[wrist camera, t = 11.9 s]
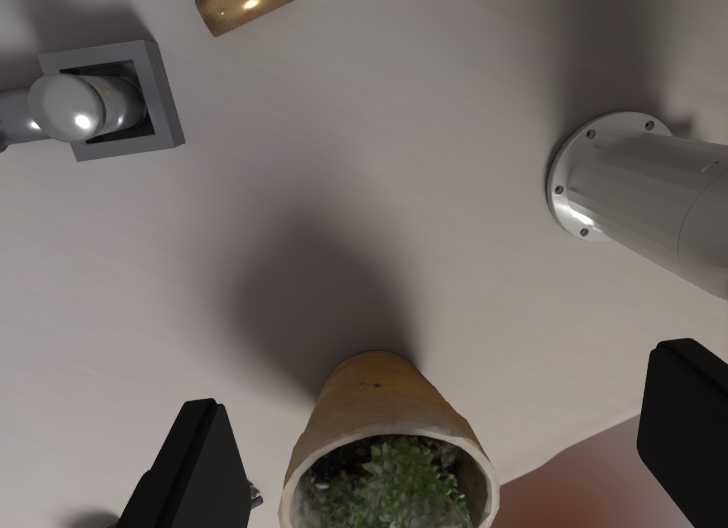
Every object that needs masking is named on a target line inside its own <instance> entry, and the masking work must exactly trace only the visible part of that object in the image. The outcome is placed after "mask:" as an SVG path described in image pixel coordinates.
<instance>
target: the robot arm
mask: <svg viewBox="0 0 728 528" xmlns="http://www.w3.org/2000/svg"><path fill="white" fill-rule="evenodd" d="M587 132H588V134H587ZM586 134H587V135H586ZM556 187H557V189H556V190H555V188H556ZM547 198H548V204H549V207H550V210H551V213H552V215H553V217H554V218H555V220H556V222H557V223H558V224H559V225H560V226H561V227H562V228H563V229H564V230H565V231H567V232H568V233H570V234H571V235H572V236H574V237H576V238H578V239H580V240H584V241H588V242H592V243H606V242H613V241H617V242H618V243H620V244H622V245H624V246H626V247H627V248H629V249H631V250H633V251H634V252H636V253H638V254H640V255H642V256H643V257H645V258H647V259H649V260H651V261H652V262H654V263H656V264H658V265H660V266H661V267H663V268H665V269H667V270H669V271H670V272H672V273H674V274H676V275H677V276H679V277H681V278H683V279H685V280H686V281H688V282H690V283H692V284H694V285H696V286H698V287H699V288H701V289H703V290H705V291H707V292H709V293H710V294H712V295H714V296H717V297H719V298H721V299H723V300H726V301H728V146H727V145H721V144H715V143H709V142H703V141H697V140H691V139H685V138H678V137H674V136H673V134H672V133H671V131H670V130H669V129H668V128H667V126H666V125H665V124H663V123H662V122H661V121H659V120H658V119H657V118H655V117H652V116H650V115H648V114H644V113H638V112H629V111H620V112H613V113H608V114H605V115H603V116H600V117H597V118H595V119H593V120H591V121H590V122H588V123H586V124H584V125H583V126H582V127H581V128H579V129H578V130H577V131H576V132H574V133H573V134H572V135H571V137H570V138H569V139H568V140H567V141H566V142H565V143H564V145H563V146H562V148H561V149H560V151H559V152H558V154H557V155H556V157H555V160H554V162H553V164H552V166H551V169H550V173H549V177H548V183H547ZM637 450H638V453H639V456H640V457H641V459H642V461H643V462H644V464H645V465H646V466H647V468H648V469H649V470H650V471H651V473H652V474H653V475H654V476H655V478H656V479H657V480H658V482H659V483H660V484H661V485H662V487H663V488H664V489H665V491H666V492H667V493H668V494H669V495H670V497H671V498H672V499H673V501H674V502H675V503H676V505H677V506H678V507H679V508H680V510H681V511H682V512H683V513H684V515H685V516H686V517H687V519H688V520H689V521H690V522H691V524H692V525H693V526H694V527H695V528H728V364H727V363H725V362H724V361H723V360H721V359H720V358H719V357H717V356H716V355H715V354H713V353H712V352H710V351H709V350H708V349H706V348H705V347H704V346H702V345H701V344H700V343H698V342H697V341H695V340H693V339H691V338H683V339H675V340H667V341H662V342H659V343H658V345H657V346H656V349H653V350H652V351H651V352H650V355H649V362H648V369H647V376H646V382H645V389H644V396H643V403H642V410H641V416H640V423H639V430H638V438H637ZM251 504H252V497H251V490H250V487H249V484H248V480H247V477H246V474H245V471H244V467H243V464H242V461H241V458H240V454H239V451H238V448H237V444H236V441H235V438H234V435H233V431H232V428H231V425H230V422H229V418H228V415H227V412H226V409H225V406H224V405H223V404H217V403H216V401H215V400H214V399H213V398H208V399H200V400H192V401H187V402H185V403H184V404H183V406H182V408H181V410H180V412H179V414H178V416H177V418H176V420H175V422H174V424H173V426H172V428H171V430H170V432H169V434H168V436H167V438H166V440H165V442H164V444H163V446H162V448H161V450H160V452H159V454H158V456H157V458H156V460H155V462H154V464H153V466H152V467H151V469H150V470H148V471H147V472H146V473H144V474H143V476H142V477H141V479H140V480H139V482H138V484H137V486H136V488H135V490H134V492H133V494H132V496H131V498H130V500H129V502H128V504H127V505H126V507H125V509H124V511H123V513H122V515H121V517H120V519H119V521H118V523H117V525H116V527H115V528H247V525H248V520H249V516H250V511H251Z"/></svg>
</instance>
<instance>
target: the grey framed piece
mask: <svg viewBox="0 0 728 528" xmlns="http://www.w3.org/2000/svg"><path fill="white" fill-rule="evenodd" d="M36 55H37V58H38V61H39V63H40V66H41V69H42V71H43V74H44V75H47V74H72V75H76V76H81V75H80V72H79V70H86V69H93V68H100V67H107V66H114V65H121V64H128V63H134V66H135V69H136V72H137V75H138V79H139V82H140V85H141V88H142V92H143V95H144V98H145V102H146V105H147V108H148V111H149V115H150V118H151V121H152V124H153V128H154V131H155V133H149V134H143V135H136V136H129V137H122V138H115V139H108V140H103V137H102V134H101V135H97V136H95V137H93V138H91V139H88V140H84V141H80V142H74V143H70V144H71V147H72V150H73V152H74V155H75V157H76V160H77V162H80V161H86V160H93V159H100V158H107V157H114V156H121V155H128V154H135V153H141V152H148V151H155V150H162V149H169V148H175V147H177V146H180V145H182V144H184V143H185V139H184V135H183V132H182V128H181V125H180V121H179V118H178V114H177V111H176V107H175V104H174V100H173V97H172V93H171V89H170V86H169V82H168V79H167V75H166V72H165V68H164V65H163V61H162V58H161V54H160V51H159V47H158V43H157V42H152V41H148V40H136V41H129V42H122V43H115V44H108V45H100V46H93V47H86V48H79V49H72V50H65V51H58V52H50V53H43V54H36ZM29 90H30V87H23V88H16V89H9V90H2V91H0V153H1V152H3V151H4V150H5V149H6V148H7V147H8V145H11V144H18V143H24V142H31V141H38V140H45V139H52V137H50V136H49V135H47V134H46V133H45V132H43V131H42V130H41V129H40V128H39V127H38V126H37V124H36V123H35V122H34V120H33V119H32V117H31V114H30V112H29V108H28V101H27V100H28V93H29Z"/></svg>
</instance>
